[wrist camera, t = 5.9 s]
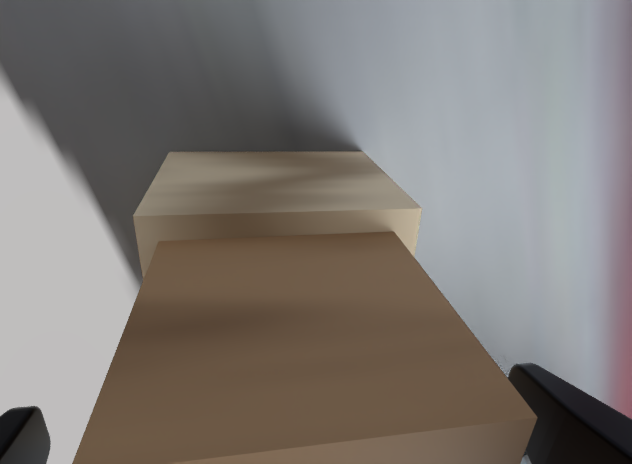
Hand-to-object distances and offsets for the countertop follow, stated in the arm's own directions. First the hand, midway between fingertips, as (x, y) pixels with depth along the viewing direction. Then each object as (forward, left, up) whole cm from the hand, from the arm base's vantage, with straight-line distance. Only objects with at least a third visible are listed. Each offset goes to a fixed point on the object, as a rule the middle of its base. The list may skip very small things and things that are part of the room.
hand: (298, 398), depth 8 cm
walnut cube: (0, 0, -2) cm, 2 cm away
